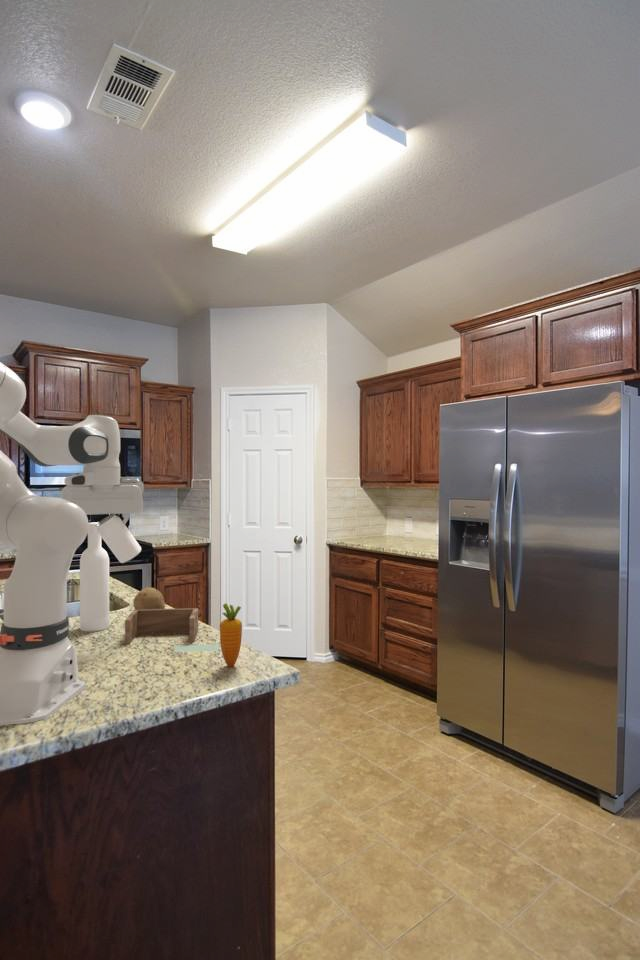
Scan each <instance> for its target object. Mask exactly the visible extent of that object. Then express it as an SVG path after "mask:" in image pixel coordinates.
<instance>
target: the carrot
mask: <svg viewBox="0 0 640 960" xmlns="http://www.w3.org/2000/svg"><path fill="white" fill-rule="evenodd" d="M222 606H223V609H224V611H225V612H222V615H223V616H224V617H226V618H224V619H223V620H222V621H221V622H220V623H219V640H220V641H219V642H220V647H221V654H222V657H223V659H224V662H225V664H226V666H227V667H228V668H234V666H235V664H236V663H237V660H238V658H239V655H240V651H241V645H242V635H243V634H242V633H243V632H242V631H243V624H242V623H243V622H242V621H241V620H239V619H238V618H236V617H237V615H238V613H239V611H240V610H241V609H242V607H241V606H240V605H237V607H236V608H235V607H234V605H233V604H230V605H228V603H223V605H222Z"/></svg>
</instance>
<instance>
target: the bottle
mask: <svg viewBox="0 0 640 960" xmlns="http://www.w3.org/2000/svg"><path fill="white" fill-rule="evenodd" d="M99 522H100V521H97V522H95V521H94V522H93V521H92V522H88V523H89V528H88V533H87V548H86V549H85V550H84V551H83V552H82V553H81V555H80V559H79V630H81V631H82V632H85V633H86V632H87V633H89V632H99V631H104V630H106V629H108V628H109V627H110V622H111V621H110V620H111V616H110V557H109V554H108V552H107V551H108V550H107V551H106V550H105V548H103V547H102V537H101V536H100V534H99V533H98V531H97V527H96V524H98V523H99Z"/></svg>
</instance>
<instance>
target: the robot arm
mask: <svg viewBox="0 0 640 960" xmlns="http://www.w3.org/2000/svg"><path fill="white" fill-rule="evenodd" d="M26 399H27V388H26V384H25V382H24V381H23V380H22V379H21V377H20V376H19V375H18V373H16V372H15V371H14V370H12V369H11V368H10V367H8V366H7V365H6V364H4V363H3V362H1V361H0V432H1V433H2V434H3V435H5V436H6V437H8V439H10V440H11V441H13V442H14V443H16V444H17V445H18V446H19V447H21V449H22V450H23V451H24V452H25V454H26V455H27V457H28V458H29V459H30V460H31V461H32V462H33V463H34V464H36V465H38V466H40V467H44V468H45V467H47V468H48V467H55V466H83V472H78V473H75V474H72V475H70V476H67V477H65V478H64V485H65V486H64V487H63V488H62V490H61V491H60V495H59V497H56V496H55V497H54V496H40V495H39V494H36V493H34V492H32V491H31V490H30V489H29V488H28V487H27V486H26V484H25V483H24V481H23V480H22V478H21V477H20V476H19V474H18V472H17V471H18V469H17V466H16V464H15V463H14V461H12V460H11V458H10V457H8V456H7V455H6V454H5V453H4V452H3V450H1V449H0V545H1V546H3V547H5V548H9V549H14V550H16V557H15V561H14V566H13V568H12V571H11V574H10V576H9V577H8V578H7V579H6V581H5V582H4V584H3V623H1V627H0V727H2V726H3V725H5V726H10V725H9V724H17V725H23V724H22V723H25V724H28V723H29V724H30V722H31V723H35V721H36V722H39V721H38V720H40V721H43V720H46V719H47V717H48V718H49V717H50V716H52V715H53V714H54V713H55V712H57V711H58V710H60V709H61V708H62V707H63V706H65V705H66V704H67V703H69V702H70V701H71V700H73V699H74V698H75V697H76V696H78V695H79V694H81V693H82V692H83V691H84V690H85V689H86V688H87V685H86V681H83V680H81V679H79V670H78V668H79V667H78V655H77V647H76V646H75V645H74V644H73V643H72V641H70V639H69V634H70V621H69V620H70V619H69V617H68V616H67V592H68V591H67V583H68V577H69V572H70V568H71V564H72V561H73V557H74V555H75V553H76V551H77V549H78V548H79V547H80V546H81V545H82V544H83V543H84V541H85V540H86V538H87V537H88V528H89V523H90V522H89V518H88V515H89V516H90V515H112V514H115V515H121V514H122V515H121V516H122V518H123V520H122V521H123V524H124V525H125V526H126V525H127V522H128V521H129V518H130V514H141V513H142V512H143V510H144V498H143V494H144V491H145V490H144V489H145V485H144V482H143V481H142V480H140V479H138V478H127V477H126V478H125V477H124V478H121V463H120V459H119V458H120V454H121V433H120V427H119V426H120V425H119V423H118V421H117V420H116V419H115V418H113V417H111V416H108V415H106V414H105V415H103V414H97V413H95V414H88V415H87V416H86V418H85V419H83V420H82V421H80V422H78V423H75V424H73V425H61V426H59V425H58V426H48V425H41V424H38V423H36V422H34V421H33V420H32V419H30V417H28V416H26V414H24V413H23V412H22V411H21V410H22V408H23V406H24V404H25V402H26Z"/></svg>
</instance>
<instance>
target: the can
mask: <svg viewBox="0 0 640 960" xmlns="http://www.w3.org/2000/svg"><path fill="white" fill-rule="evenodd" d="M98 522H99V523H98V524H96V527H97V531H98V533H99V534H100V536H101V540H103V541H104V542H105V544H106V545H107V547H108V548H109V550H110V551H111V552H112V554H113V555H114V556H115V558H116V559H117V560H118V562H119V563H121V564H125V563H127V562H129V561H131V560H132V559H135V557H137V556H138V555H139V554H141V552H142V547H141V545H140V543H138V541H137V540H136V538H135V537H134V535H133V534H132V532H130V530H129V528H128V527H127V525H126V524H125V525H124V524H123V520H122V519H121V517H120V516H118V515H117V514H109V515H108V516H106V517H104V518H103V519H101V520H100V521H98Z"/></svg>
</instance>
